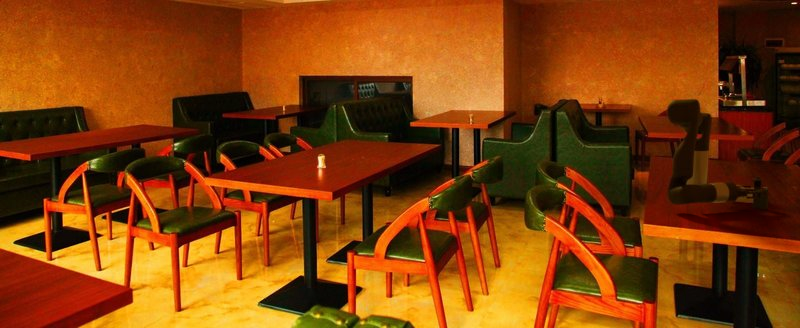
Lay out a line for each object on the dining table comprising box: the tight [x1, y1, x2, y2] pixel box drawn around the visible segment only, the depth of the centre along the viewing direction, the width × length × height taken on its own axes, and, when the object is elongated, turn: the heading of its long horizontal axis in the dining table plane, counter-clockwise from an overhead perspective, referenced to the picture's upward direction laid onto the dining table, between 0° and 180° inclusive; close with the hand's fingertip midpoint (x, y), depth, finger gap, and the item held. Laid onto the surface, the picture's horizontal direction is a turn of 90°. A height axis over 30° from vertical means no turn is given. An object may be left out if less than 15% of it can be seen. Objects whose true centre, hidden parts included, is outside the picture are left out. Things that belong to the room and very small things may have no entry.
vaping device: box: [752, 176, 770, 210], centre depth 235 cm, size 3×5×12 cm, turn 50°
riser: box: [734, 187, 754, 204], centre depth 251 cm, size 11×11×4 cm
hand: (758, 190), depth 235 cm, fingers open, 8 cm apart
